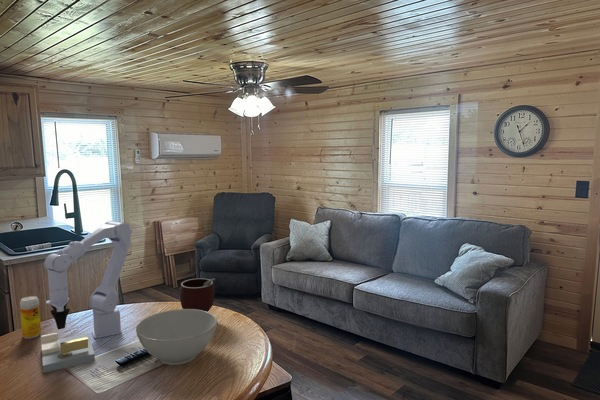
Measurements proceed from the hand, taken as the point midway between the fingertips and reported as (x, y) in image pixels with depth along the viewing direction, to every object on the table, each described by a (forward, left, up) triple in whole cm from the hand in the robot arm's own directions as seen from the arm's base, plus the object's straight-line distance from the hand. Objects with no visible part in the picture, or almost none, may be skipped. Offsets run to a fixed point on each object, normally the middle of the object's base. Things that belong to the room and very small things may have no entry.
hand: (60, 324), depth 148 cm
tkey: (-3, +11, -7) cm, 13 cm away
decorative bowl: (-34, +27, -10) cm, 44 cm away
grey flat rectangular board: (-1, +5, -10) cm, 11 cm away
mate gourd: (-50, +3, -10) cm, 51 cm away
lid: (+4, +2, -7) cm, 8 cm away
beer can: (+9, -19, -10) cm, 24 cm away
